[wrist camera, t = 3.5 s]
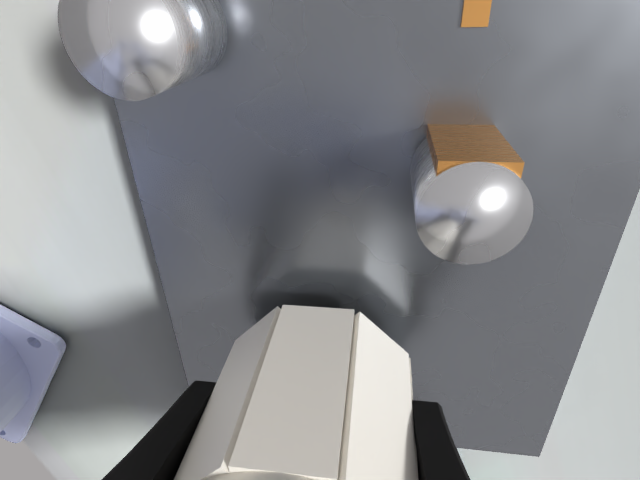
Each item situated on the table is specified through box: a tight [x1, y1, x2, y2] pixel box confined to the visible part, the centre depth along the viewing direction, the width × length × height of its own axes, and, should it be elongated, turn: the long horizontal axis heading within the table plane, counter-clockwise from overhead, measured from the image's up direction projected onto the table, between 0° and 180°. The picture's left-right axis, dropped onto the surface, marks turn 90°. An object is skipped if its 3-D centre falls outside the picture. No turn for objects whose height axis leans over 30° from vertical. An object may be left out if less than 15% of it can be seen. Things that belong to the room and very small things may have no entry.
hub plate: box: [58, 0, 640, 457], centre depth 10 cm, size 16×12×4 cm
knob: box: [174, 305, 418, 480], centre depth 10 cm, size 5×5×6 cm
